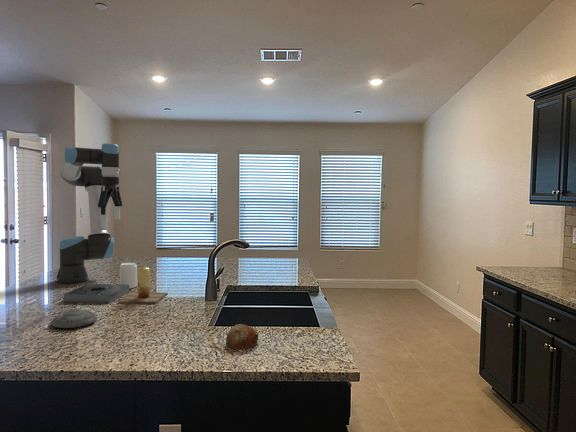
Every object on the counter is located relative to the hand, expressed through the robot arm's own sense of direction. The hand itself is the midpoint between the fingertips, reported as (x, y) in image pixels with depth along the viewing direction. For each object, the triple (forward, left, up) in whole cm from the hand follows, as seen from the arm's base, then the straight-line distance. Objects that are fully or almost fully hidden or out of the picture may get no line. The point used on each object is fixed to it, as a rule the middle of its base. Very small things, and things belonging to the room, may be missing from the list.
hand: (110, 220), depth 191 cm
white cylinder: (-7, +5, -34) cm, 36 cm away
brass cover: (+14, +21, -33) cm, 42 cm away
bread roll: (+65, +73, -35) cm, 103 cm away
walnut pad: (+14, +21, -34) cm, 42 cm away
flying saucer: (+49, +9, -35) cm, 61 cm away
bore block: (+12, -1, -34) cm, 36 cm away
